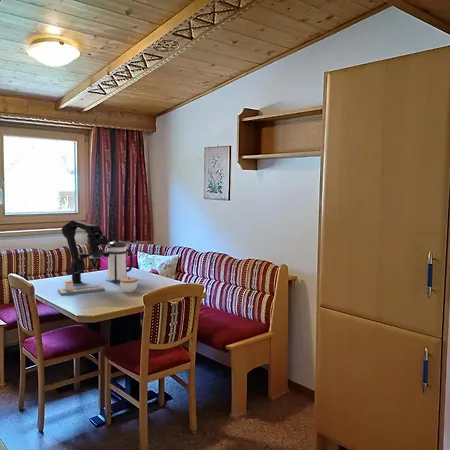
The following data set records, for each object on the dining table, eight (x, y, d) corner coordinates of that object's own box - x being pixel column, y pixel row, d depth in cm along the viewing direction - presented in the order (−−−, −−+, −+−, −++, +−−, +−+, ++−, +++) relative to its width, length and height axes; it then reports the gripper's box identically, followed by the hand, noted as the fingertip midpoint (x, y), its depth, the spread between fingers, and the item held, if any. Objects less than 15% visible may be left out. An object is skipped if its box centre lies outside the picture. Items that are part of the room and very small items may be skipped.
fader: (64, 288, 282) (64, 280, 281) (71, 288, 284) (71, 279, 283) (66, 290, 278) (65, 281, 277) (73, 289, 280) (73, 281, 280)
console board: (57, 290, 283) (57, 288, 283) (99, 286, 296) (99, 283, 296) (61, 295, 273) (61, 292, 273) (104, 290, 286) (104, 288, 286)
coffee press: (127, 283, 306) (126, 239, 303) (103, 282, 306) (102, 238, 303) (132, 277, 323) (132, 235, 320) (110, 277, 323) (110, 235, 320)
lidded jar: (141, 290, 287) (141, 276, 286) (129, 294, 278) (128, 279, 277) (128, 288, 293) (128, 274, 292) (116, 291, 284) (116, 277, 283)
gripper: (81, 247, 282) (82, 271, 284) (111, 245, 291) (111, 269, 293) (77, 244, 292) (78, 268, 293) (106, 242, 301) (107, 266, 303)
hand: (94, 268), depth 295 cm, fingers closed
